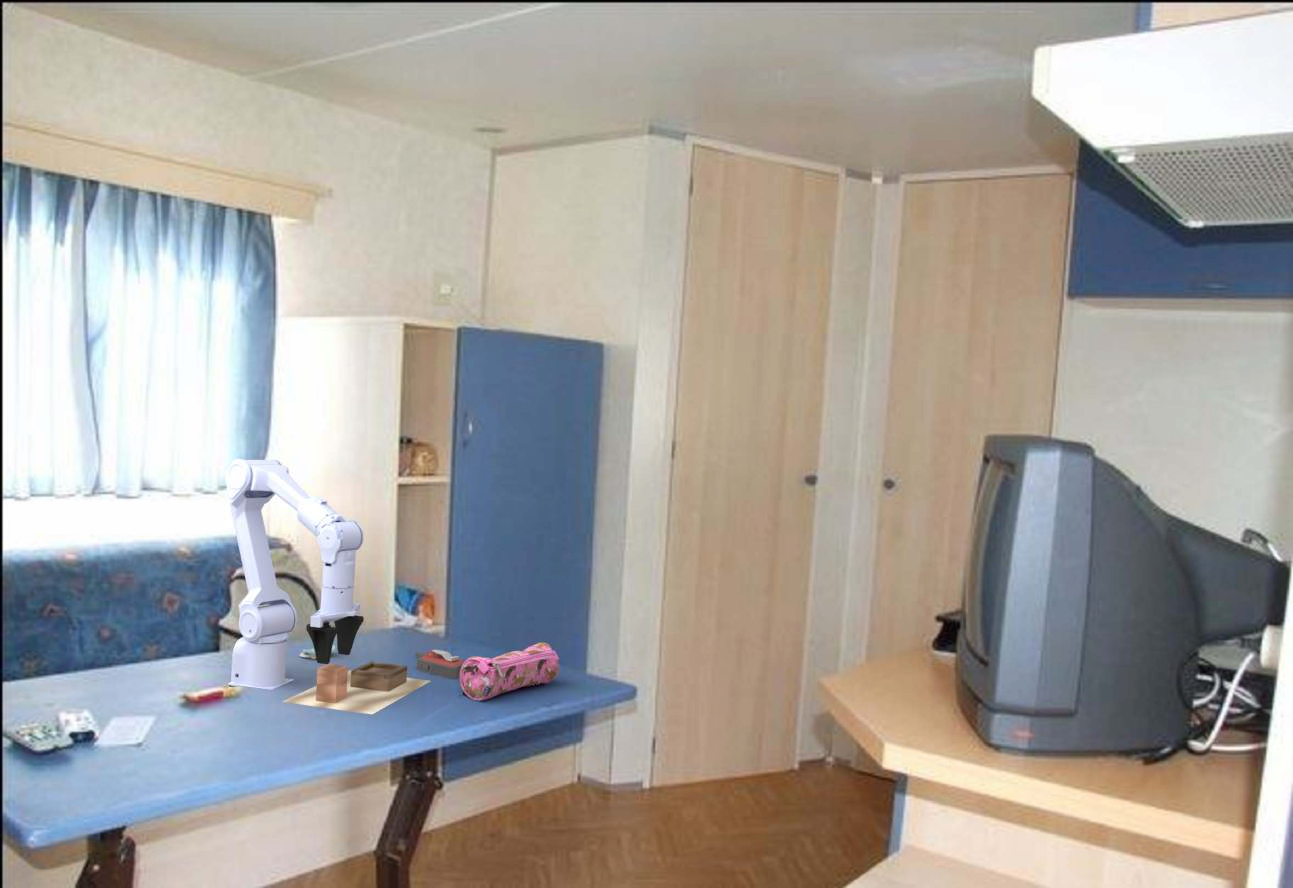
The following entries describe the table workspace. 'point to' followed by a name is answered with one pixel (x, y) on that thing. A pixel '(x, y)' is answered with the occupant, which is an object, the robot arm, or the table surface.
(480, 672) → the pencil case
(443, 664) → the grey red box
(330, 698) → the block
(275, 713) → the table surface
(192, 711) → the table surface
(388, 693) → the build mat
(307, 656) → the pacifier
